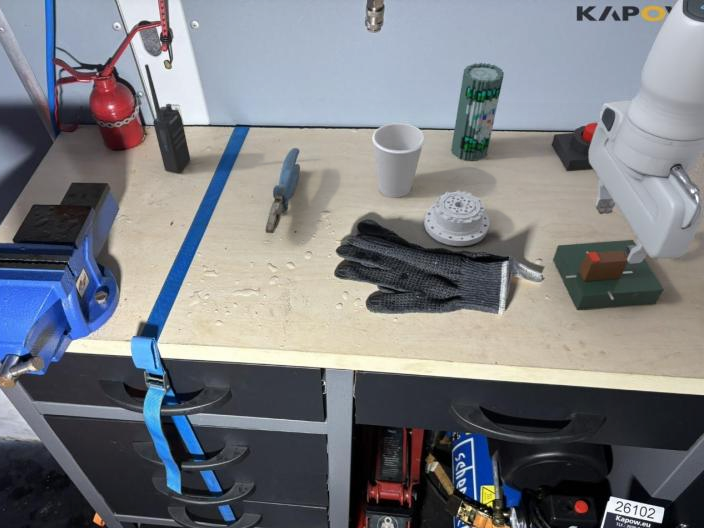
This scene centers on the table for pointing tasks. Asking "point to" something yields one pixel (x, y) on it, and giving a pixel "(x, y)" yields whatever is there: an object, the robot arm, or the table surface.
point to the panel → (627, 291)
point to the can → (476, 110)
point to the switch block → (572, 150)
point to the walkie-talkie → (169, 133)
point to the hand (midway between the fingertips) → (616, 234)
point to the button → (589, 131)
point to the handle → (603, 265)
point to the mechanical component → (457, 219)
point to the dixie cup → (397, 157)
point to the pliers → (283, 189)
